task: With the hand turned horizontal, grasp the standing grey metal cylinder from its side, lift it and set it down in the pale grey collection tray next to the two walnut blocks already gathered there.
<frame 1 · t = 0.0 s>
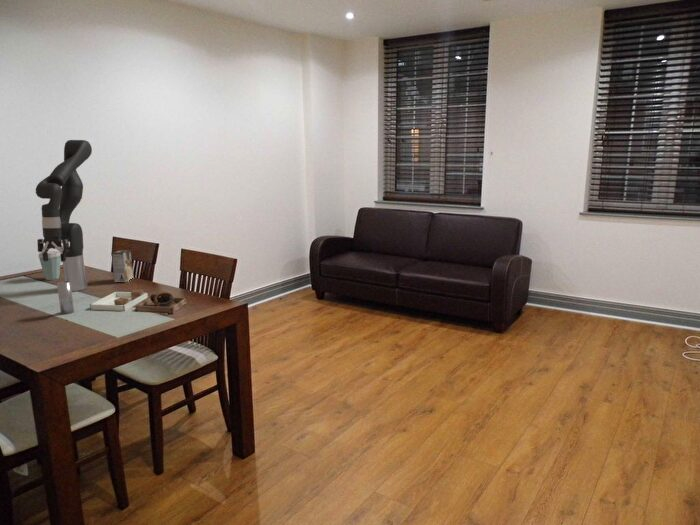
hand: (54, 261, 237), 17 cm above the table, tool pointing down, fingers open, 8 cm apart
mug frame: (162, 308, 225), on the table
tray: (120, 304, 229), on the table
pottery mug: (162, 308, 225), on the table
part cylinder: (67, 314, 216), on the table
walnut block a: (137, 299, 234), point 1 cm above the table, touching tray
disposable coffee cup: (53, 279, 273), on the table
walnut block b: (122, 308, 222), point 1 cm above the table, touching tray
coffee box: (124, 281, 270), on the table
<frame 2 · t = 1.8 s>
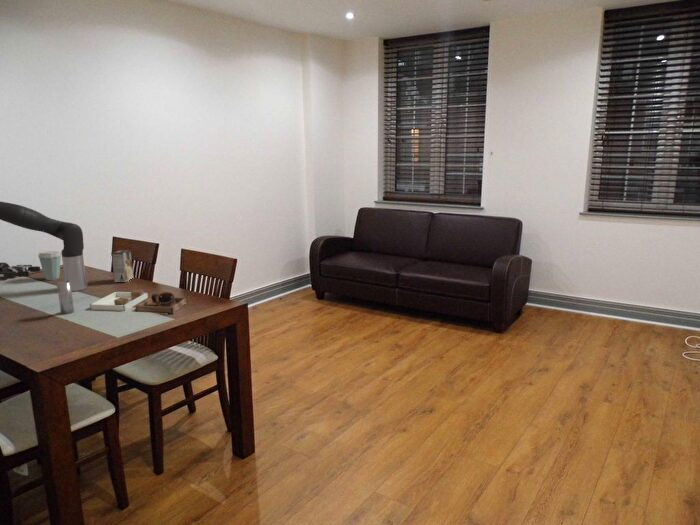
hand: (34, 271, 211), 19 cm above the table, tool horizontal, fingers open, 8 cm apart
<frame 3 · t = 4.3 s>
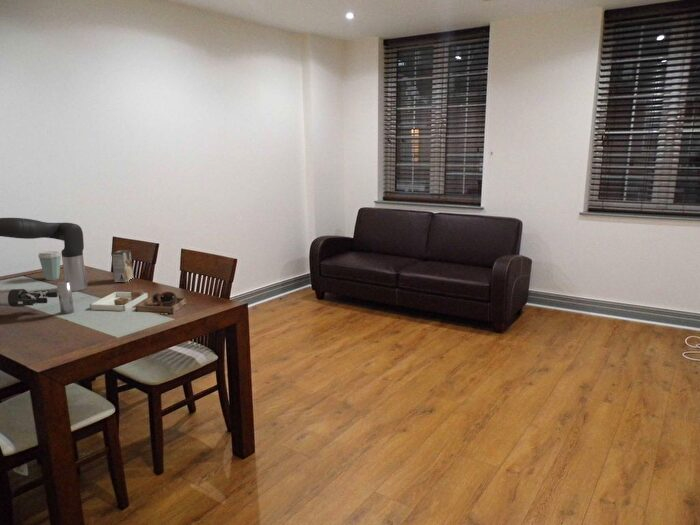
hand: (52, 297, 214), 8 cm above the table, tool horizontal, fingers open, 8 cm apart
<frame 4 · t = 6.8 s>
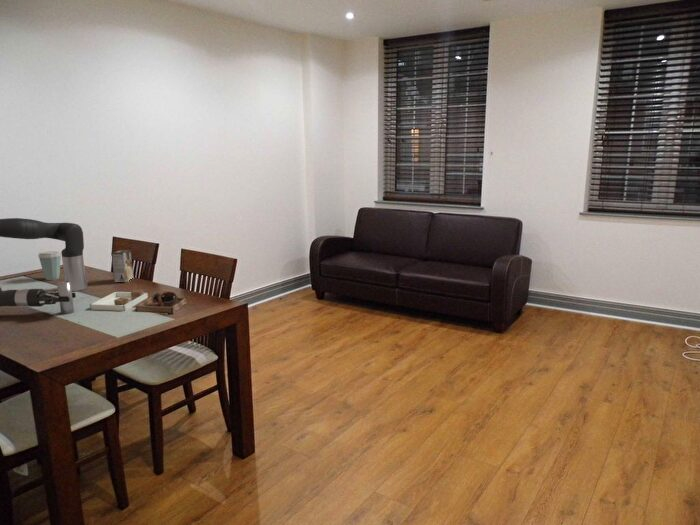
hand: (72, 297, 214), 8 cm above the table, tool horizontal, fingers closed on part cylinder, 5 cm apart
part cylinder: (67, 314, 216), on the table, touching gripper
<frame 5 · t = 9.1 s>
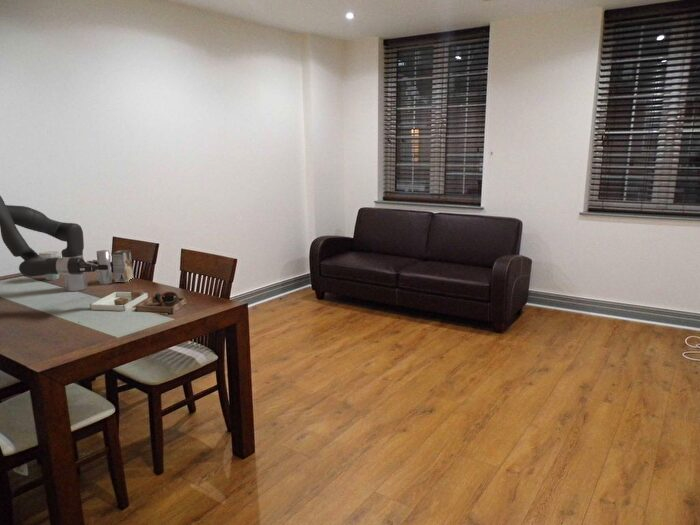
hand: (110, 265, 222), 19 cm above the table, tool horizontal, fingers closed on part cylinder, 5 cm apart
part cylinder: (105, 282, 223), point 11 cm above the table, touching gripper
when the fingers open (9 cm above the table, at t = 11.8 s): part cylinder stays where it is, resting on tray.
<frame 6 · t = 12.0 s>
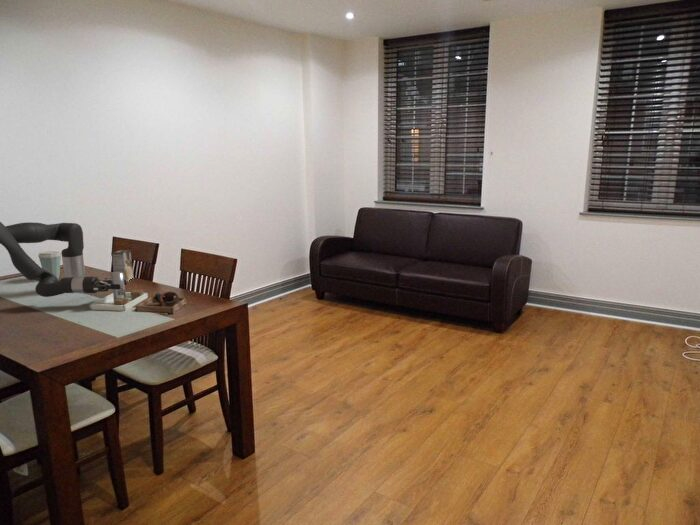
hand: (123, 284, 227), 9 cm above the table, tool horizontal, fingers open, 7 cm apart
part cylinder: (120, 303, 229), point 1 cm above the table, touching tray
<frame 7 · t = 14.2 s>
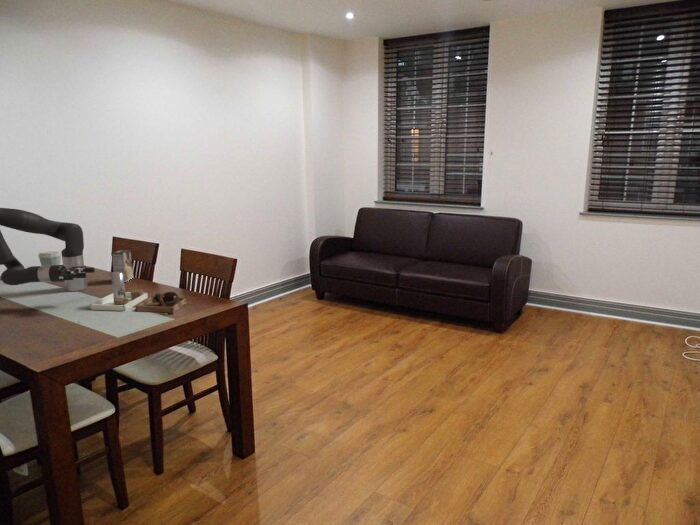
hand: (90, 272, 225), 15 cm above the table, tool horizontal, fingers open, 8 cm apart
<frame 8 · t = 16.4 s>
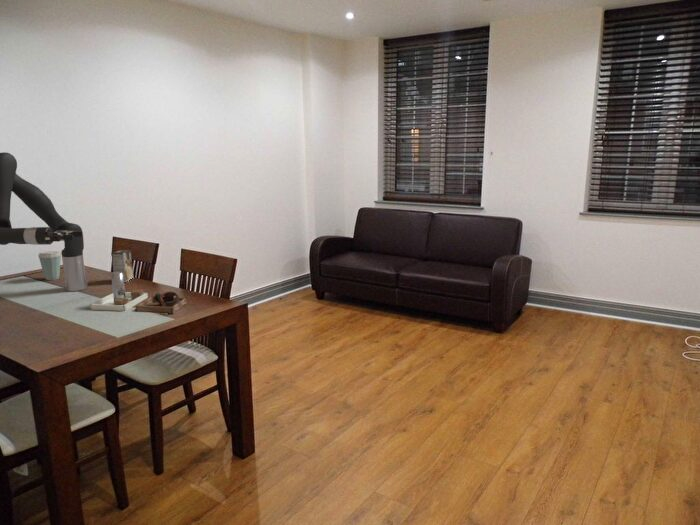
hand: (77, 235, 220), 32 cm above the table, tool horizontal, fingers open, 8 cm apart
at the end: part cylinder inside the target area on the tray (0.0 cm from its centre), point 0.8 cm above the tray's base; part cylinder tilted 0°; the gripper is holding nothing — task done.
